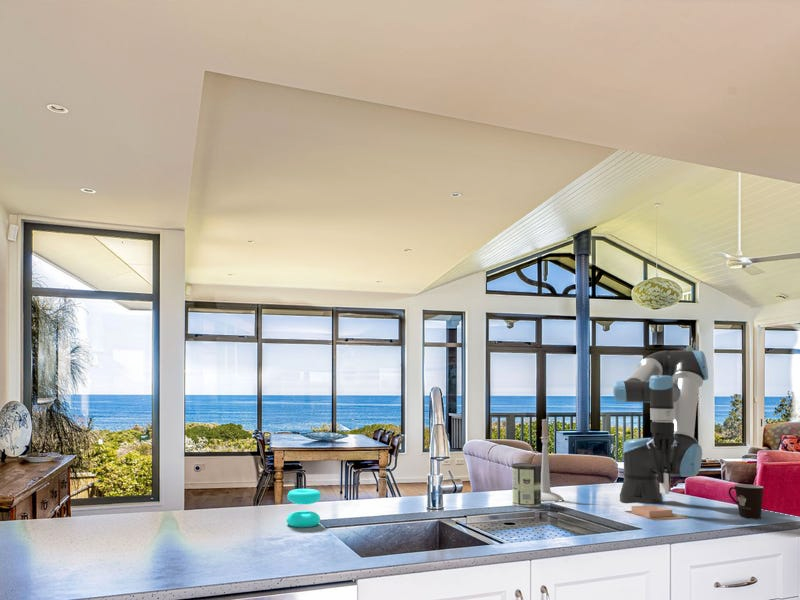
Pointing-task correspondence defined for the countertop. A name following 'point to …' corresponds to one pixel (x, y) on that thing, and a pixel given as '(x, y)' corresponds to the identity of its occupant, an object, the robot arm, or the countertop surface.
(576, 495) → the countertop surface
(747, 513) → the coffee mug
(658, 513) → the tile
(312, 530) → the countertop surface
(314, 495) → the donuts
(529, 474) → the coffee can
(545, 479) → the candlestick
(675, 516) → the board
